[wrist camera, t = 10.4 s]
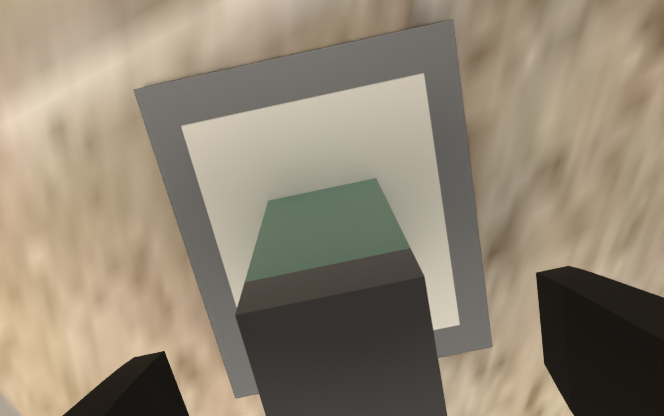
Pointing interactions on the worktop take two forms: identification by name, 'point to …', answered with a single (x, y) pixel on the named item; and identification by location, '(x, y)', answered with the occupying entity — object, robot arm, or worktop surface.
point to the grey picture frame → (325, 167)
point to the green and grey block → (338, 310)
